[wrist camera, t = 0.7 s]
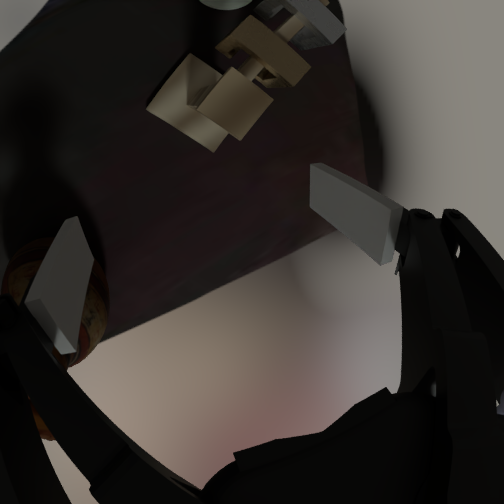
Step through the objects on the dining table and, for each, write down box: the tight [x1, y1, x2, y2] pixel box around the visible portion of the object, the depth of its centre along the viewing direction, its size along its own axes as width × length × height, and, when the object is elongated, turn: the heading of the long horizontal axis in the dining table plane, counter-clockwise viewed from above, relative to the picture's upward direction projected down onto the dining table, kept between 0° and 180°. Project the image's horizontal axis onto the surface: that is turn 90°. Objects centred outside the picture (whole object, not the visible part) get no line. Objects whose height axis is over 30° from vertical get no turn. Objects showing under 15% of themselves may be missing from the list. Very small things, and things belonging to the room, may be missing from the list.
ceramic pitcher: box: [1, 237, 110, 441], centre depth 29 cm, size 20×20×30 cm
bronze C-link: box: [215, 15, 311, 88], centre depth 23 cm, size 8×3×7 cm, turn 51°
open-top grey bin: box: [253, 0, 347, 51], centre depth 21 cm, size 8×3×7 cm, turn 51°
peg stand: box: [146, 0, 329, 152], centre depth 26 cm, size 12×22×20 cm, turn 141°
